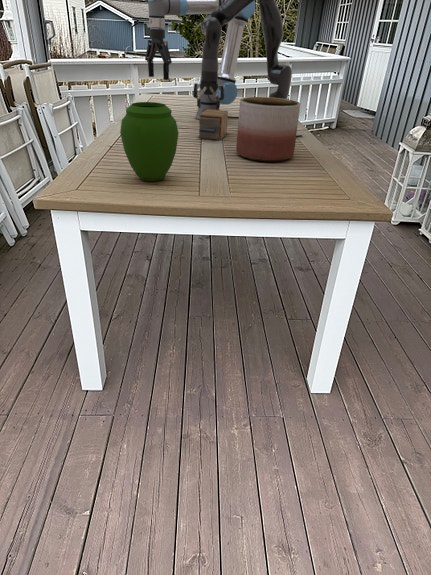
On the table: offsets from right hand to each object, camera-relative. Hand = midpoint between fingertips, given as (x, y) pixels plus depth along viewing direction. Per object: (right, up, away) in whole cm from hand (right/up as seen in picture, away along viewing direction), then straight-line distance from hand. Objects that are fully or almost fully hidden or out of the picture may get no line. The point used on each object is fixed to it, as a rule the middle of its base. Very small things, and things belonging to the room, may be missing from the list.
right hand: (208, 108), depth 193 cm
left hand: (-26, +22, +15) cm, 37 cm away
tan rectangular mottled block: (+2, -6, +18) cm, 19 cm away
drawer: (+1, -8, +13) cm, 15 cm away
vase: (-20, -45, -47) cm, 68 cm away
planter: (+25, -26, -12) cm, 38 cm away
